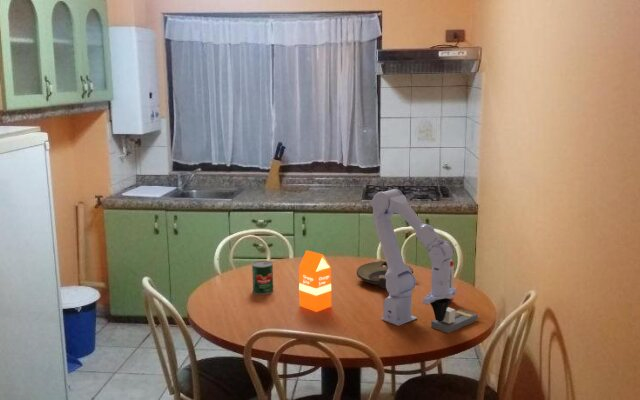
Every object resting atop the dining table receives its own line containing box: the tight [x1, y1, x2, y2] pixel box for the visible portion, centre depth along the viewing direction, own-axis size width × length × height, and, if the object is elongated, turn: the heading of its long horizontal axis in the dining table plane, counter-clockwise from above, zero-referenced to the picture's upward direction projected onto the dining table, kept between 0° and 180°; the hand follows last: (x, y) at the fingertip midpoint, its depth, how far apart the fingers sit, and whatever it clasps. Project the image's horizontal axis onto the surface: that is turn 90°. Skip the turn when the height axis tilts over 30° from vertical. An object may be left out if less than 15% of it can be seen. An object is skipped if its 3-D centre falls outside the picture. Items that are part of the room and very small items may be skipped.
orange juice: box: [298, 250, 332, 313], centre depth 223 cm, size 8×9×20 cm
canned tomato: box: [251, 260, 274, 296], centre depth 241 cm, size 8×8×11 cm
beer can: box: [448, 257, 455, 303], centre depth 226 cm, size 6×6×16 cm
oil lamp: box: [356, 260, 414, 289], centre depth 249 cm, size 22×30×8 cm
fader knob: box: [443, 306, 456, 323], centre depth 204 cm, size 3×5×4 cm, turn 42°
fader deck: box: [430, 308, 479, 334], centre depth 208 cm, size 16×7×2 cm, turn 132°
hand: (439, 320), depth 202 cm, fingers closed
